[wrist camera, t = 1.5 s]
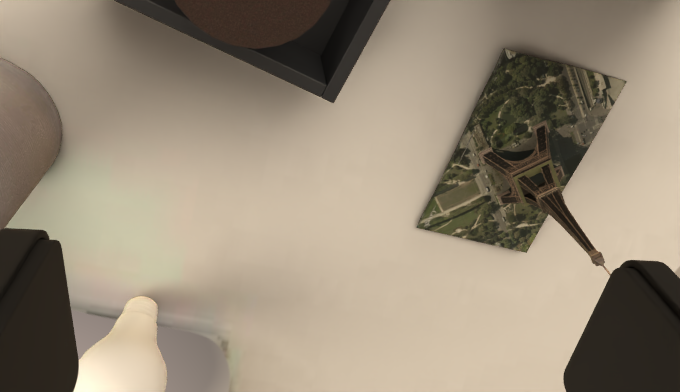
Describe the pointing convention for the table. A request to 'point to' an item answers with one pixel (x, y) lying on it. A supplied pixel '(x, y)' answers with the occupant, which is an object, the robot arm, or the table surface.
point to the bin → (294, 43)
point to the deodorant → (254, 19)
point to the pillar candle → (24, 137)
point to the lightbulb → (126, 354)
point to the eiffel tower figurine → (521, 153)
